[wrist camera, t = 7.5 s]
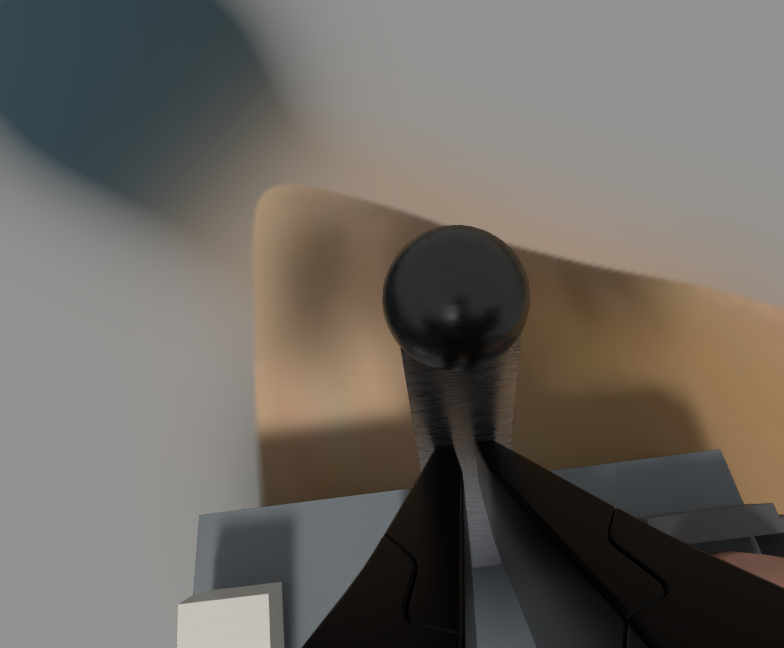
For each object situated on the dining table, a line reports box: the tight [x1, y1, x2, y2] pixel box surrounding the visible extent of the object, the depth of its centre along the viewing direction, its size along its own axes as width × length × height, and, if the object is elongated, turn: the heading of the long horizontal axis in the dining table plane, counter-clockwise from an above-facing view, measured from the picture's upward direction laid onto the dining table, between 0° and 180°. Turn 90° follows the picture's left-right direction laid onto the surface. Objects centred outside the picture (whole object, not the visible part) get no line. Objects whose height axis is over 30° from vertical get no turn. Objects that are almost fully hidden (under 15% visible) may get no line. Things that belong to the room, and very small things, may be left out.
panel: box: [193, 449, 784, 648], centre depth 14 cm, size 9×20×5 cm, turn 97°
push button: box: [709, 551, 784, 588], centre depth 11 cm, size 3×3×2 cm
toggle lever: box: [382, 225, 530, 568], centre depth 10 cm, size 2×2×12 cm
